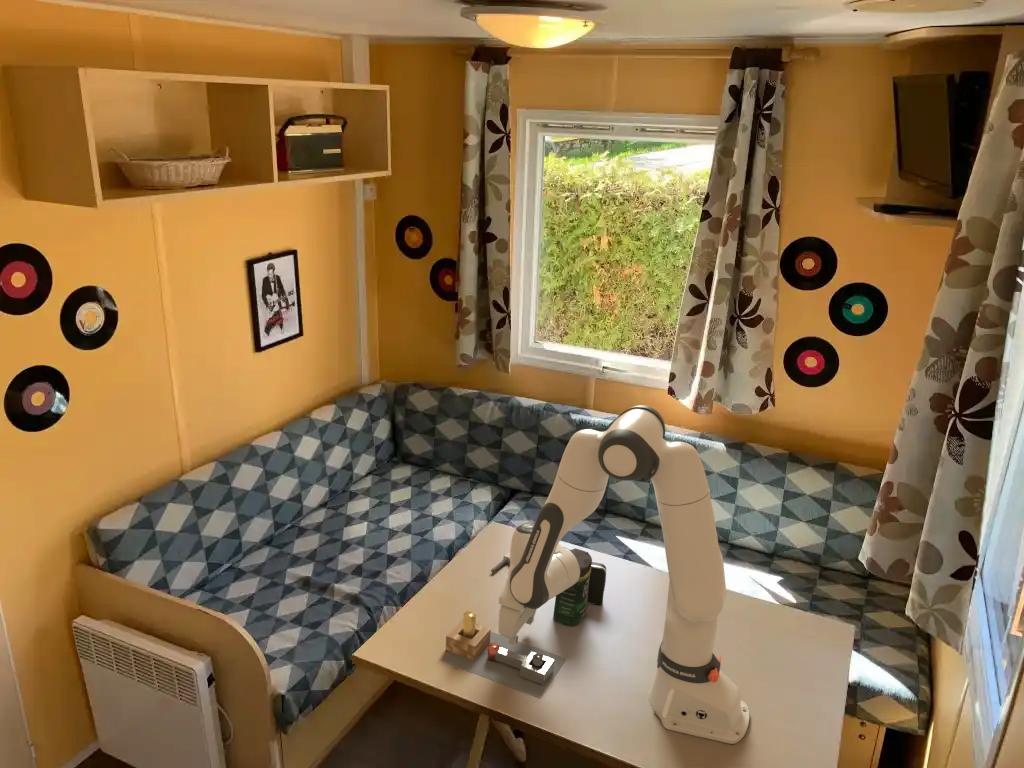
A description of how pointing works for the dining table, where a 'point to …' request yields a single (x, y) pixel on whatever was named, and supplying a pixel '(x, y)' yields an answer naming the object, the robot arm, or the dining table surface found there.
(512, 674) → the mat
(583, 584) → the coffee jar
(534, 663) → the post
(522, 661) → the knob socket block
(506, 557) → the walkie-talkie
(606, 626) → the dining table surface
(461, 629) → the slot block
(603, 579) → the battery charger
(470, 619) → the pin
